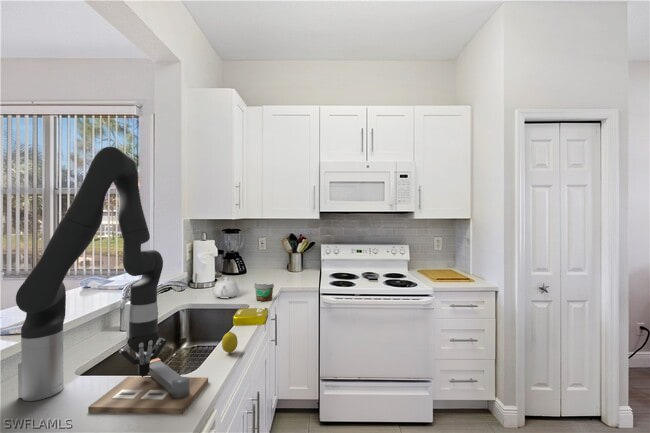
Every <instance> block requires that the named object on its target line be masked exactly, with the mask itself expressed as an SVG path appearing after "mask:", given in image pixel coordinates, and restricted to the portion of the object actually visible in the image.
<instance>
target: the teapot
mask: <svg viewBox="0 0 650 433" xmlns="http://www.w3.org/2000/svg"><path fill="white" fill-rule="evenodd" d="M239 292H240V288H239V286H238V284H237V281H236V280H234V279H232V277H229V276H226V277H223V279H221V280H217V281H216V283H215V285H214V286H213V290H212V294H213V296H215V297H216V298H217V297H233V296H235V297H236V296H238V294H239ZM233 298H234V297H233Z"/></svg>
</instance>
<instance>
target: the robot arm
mask: <svg viewBox="0 0 650 433" xmlns="http://www.w3.org/2000/svg"><path fill="white" fill-rule="evenodd" d="M138 175H139V174H138V166H137V163H136V161H135V160H134V158H132V157H131V156H130V155H128V154H127V153H126V152H123V151H122V150H121V149H119V148H117V147H115V146H106V147H103V148H101V149H100V150H99V151H97V152H96V153H95V154H94V156H93V157H92V160H91V162H90V164H89V166H88V168H87V172H86V174H85V175H84V178H83V180H82V183H81V185H80V187H79V188H78V191H77V192H76V194H75V196H74V197H73V199H72V201H71V203H70V205H69V206H68V208H67V209H66V211H65V213H64V215H63V216H62V217H61V219H60V221H59V223H58V225H57V226H56V229H55V230H54V232H53V234H52V236H51V238H50V239H49V242H48V243H47V245H46V248H45V249H44V250H43V251H44V252H43V253H42V255H41V256H40V259H39V261H38V262H37V264H36V265H35V266H34V268H33V269H32V271H31V272H30V273H29V274H28V276H27V277H26V279H25V280H24V281H23V283H22V284H21V285H20V286H19V288H18V290H17V292H16V295H15V303H16V305H17V308H18V309H20V310H21V311H22V312H23V313H26V315H25V319H24V321H23V324H22V326H21V328H20V346H21V347H20V348H21V349H20V350H21V351H20V354H21V355H20V356H21V357H20V358H21V361H20V362H19V363H18V364H17V387H18V388H17V391H18V393H17V394H18V396H17V397H18V399H20V398H21V399H22V400H23V401H26V402H33V401H39V400H45V399H47V398H50V397H52V396H55V395H57V394H59V393H60V392H61V391H63V389H64V388H65V377H64V376H65V373H64V372H65V371H64V370H65V367H64V365H65V362H64V358H65V357H64V322H65V319H66V310H67V309H66V304H67V303H66V302H67V297H66V296H67V293H66V292H67V290H66V286H65V284H64V279H65V278H66V276H67V273H68V272H69V270H70V269H71V268H72V266H73V265H74V264H75V263H76V261H78V259H80V257H81V255H82V254H83V253H84V252H85V251H86V249H87V248H88V247H89V245H90V244H91V242H92V241H93V239H94V238H95V236H96V234H97V232H98V230H99V229H100V227H101V225H102V222H103V218H104V210H105V209H104V207H105V199H106V195H107V194H108V192H109V189H110V188H111V186H112V185H114V187H115V189H116V192H117V196H118V212H117V220H118V221H117V222H118V225H119V228H120V232H121V236H122V240H123V246H122V250H123V252H122V267H123V269H124V271H125V272H126V273H127V274H128V275H129V276H132V277H137V276H138V277H139V276H141V277H140V278H141V279H140V280H138V281H137V282H135V283H134V284H132V285H131V286H130V290H129V291H130V292H129V293H130V294H129V295H130V296H129V301H130V310H129V338H127V339H128V340H127V342H126V345H124V346H123V348H122V347H120V348H119V350H118V353H120V354H121V355H122V356H123V357H124V358H125V359H126V360H128V361H129V362H130V363H131V364H132V365H134V366H135V365H136V366H137V374H138V375H139V377H147V376H148V373H149V371H150V361H151V360H153V359H157V358H158V355H159V354H160V353H161V351H162V350H163V348H164V347H165V345H166V344H167V342H168V340H167V339H165V338H163V337H160V334H159V332H158V330H159V321H158V320H159V318H158V317H159V311H158V310H159V309H158V308H159V306H158V286H159V282H160V278H161V275H162V271H163V268H164V267H163V266H164V259H163V256H162V254H161V253H160V252H159V251H158V250H156V249H147V250H142V245H143V244H145V243H147V242H149V240H150V238H151V235H150V231H149V227H148V225H147V221H146V217H145V214H144V210H143V206H142V200H141V194H140V187H139V178H138V177H139V176H138ZM130 349H132V351H133V352H134V353H135V355H136V358H135V357H134V356H133V355H131V354H130V353H131V350H130Z"/></svg>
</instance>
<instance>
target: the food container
mask: <svg viewBox="0 0 650 433" xmlns="http://www.w3.org/2000/svg"><path fill="white" fill-rule="evenodd" d="M274 287H275V285H274V283H271V284H267V283H263V284H259V283H257V282H255V283H254V287H253V288H254V289H255V300H256V301H257V302H258V301H261V302H260V303H268V302H271V301H273V292H274Z"/></svg>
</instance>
